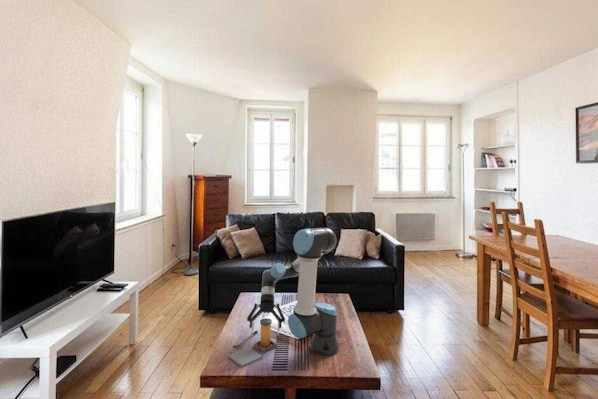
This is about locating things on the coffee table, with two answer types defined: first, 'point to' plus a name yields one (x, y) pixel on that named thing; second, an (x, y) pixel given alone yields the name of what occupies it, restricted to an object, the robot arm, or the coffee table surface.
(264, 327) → the orange grey capped cylinder
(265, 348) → the square wooden frame
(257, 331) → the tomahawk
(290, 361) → the coffee table surface
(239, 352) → the rubber mat
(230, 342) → the coffee table surface
